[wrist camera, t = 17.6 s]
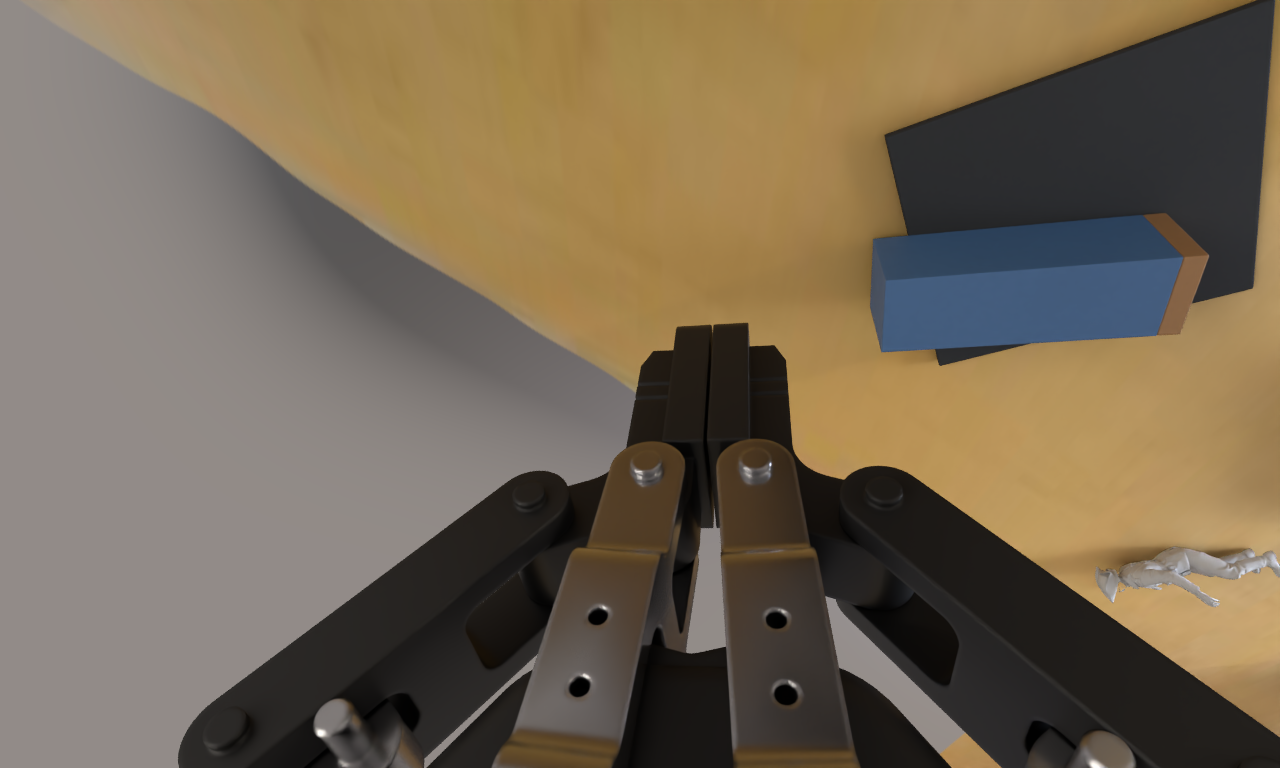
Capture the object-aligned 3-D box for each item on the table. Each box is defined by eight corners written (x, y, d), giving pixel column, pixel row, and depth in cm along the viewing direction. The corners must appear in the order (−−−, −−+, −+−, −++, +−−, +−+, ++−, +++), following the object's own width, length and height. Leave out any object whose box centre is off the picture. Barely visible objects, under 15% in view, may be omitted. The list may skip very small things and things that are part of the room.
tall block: (881, 352, 43) (1181, 334, 40) (885, 280, 40) (1210, 255, 37) (870, 307, 47) (1142, 287, 44) (873, 238, 44) (1166, 212, 41)
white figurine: (1231, 567, 60) (1097, 620, 61) (1202, 513, 61) (1069, 566, 62) (1307, 579, 53) (1151, 641, 53) (1272, 517, 53) (1119, 578, 54)
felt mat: (884, 134, 40) (885, 137, 40) (1269, -5, 34) (1275, -3, 34) (938, 362, 49) (939, 366, 49) (1249, 284, 43) (1253, 288, 43)
